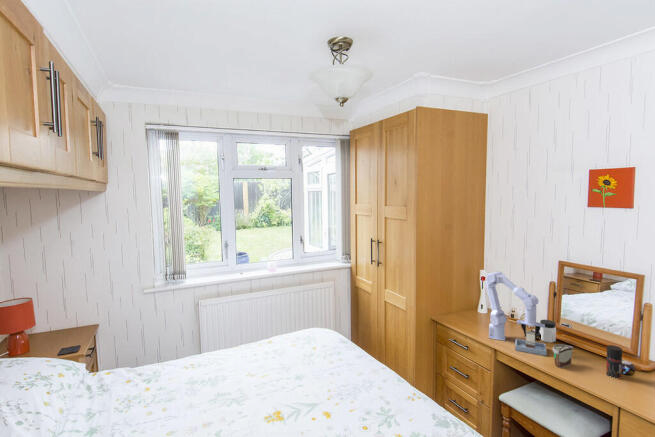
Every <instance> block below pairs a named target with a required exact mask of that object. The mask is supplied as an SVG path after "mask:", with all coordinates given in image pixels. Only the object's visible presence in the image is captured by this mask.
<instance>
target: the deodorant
mask: <svg viewBox="0 0 655 437" xmlns="http://www.w3.org/2000/svg"><path fill="white" fill-rule="evenodd" d="M622 364H623V349H622V347H620V346H617V345H611V344H610V345H607V346H606V370H605V371H606V375H607V377H610V376H611V377H610V378H612V377H615V378H614V379H616V378H620V377H621V378H622V368H623V366H622ZM621 378H620V379H621Z"/></svg>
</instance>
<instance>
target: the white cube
mask: <svg viewBox="0 0 655 437" xmlns="http://www.w3.org/2000/svg"><path fill="white" fill-rule="evenodd" d="M525 340H526V341H532V342H536V339H535V331H530V330H526V337H525Z"/></svg>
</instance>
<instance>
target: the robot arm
mask: <svg viewBox="0 0 655 437" xmlns="http://www.w3.org/2000/svg"><path fill="white" fill-rule="evenodd" d="M485 278H486V281H485V287H486V291H487V294H488V295H487V296H488V299H489V302H490V307H491V312H490V323H489V324H488V338H489V339H493V340H499V341H506V333H505V330H506V329H505V327H506V326H505V325H506V322H507V321H508V318H507V315H506V314H505V312H504V311H503V309H502V308H501V304H500V300H499V297H498V292H497V288H496V286H497V285H498V284H504V285H505V286H506V287H507V288H509V289H510V290H511V291H513V293H514V295H515V296H517V297H518V298H519V299H520V300H521V301H522V302H523V305H524V306H525V307H524V309H525V310H524V311H525V314H524V316H525V317H524V320H516V324H517V325H520V326H521V329H522V331H523V334H524V337H525V338H526V331H527V326H529V327H534V332H535V340H536V339H537V337H538V335H539V331H540V327H542V328H545V324H541V323H540V322H537V305H538V304H539V299H538V297H537V296H536V295H533V294H531V293H529V292H527V291H526V290H525V288H523V287H519V286H518V285H515V284H514V283H513V281H511V280H510V279H509V278H508V277H507V276H506V274H505V273H503V272H502V271H499V270H498V271H495V272H490V273H488V274H487V275H486V276H485Z"/></svg>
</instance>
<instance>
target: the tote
mask: <svg viewBox="0 0 655 437" xmlns="http://www.w3.org/2000/svg"><path fill="white" fill-rule="evenodd" d="M514 342H515V344H514V346H515V348H514V350H515V351H516V352H521V353H527V354H532V355H536V356H537V355H538V356H544V357H547V345H546V343H544V342H543V343H542V342H538V341H535V349H534V348H528V347H526V339H519V338H515V341H514Z"/></svg>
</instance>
